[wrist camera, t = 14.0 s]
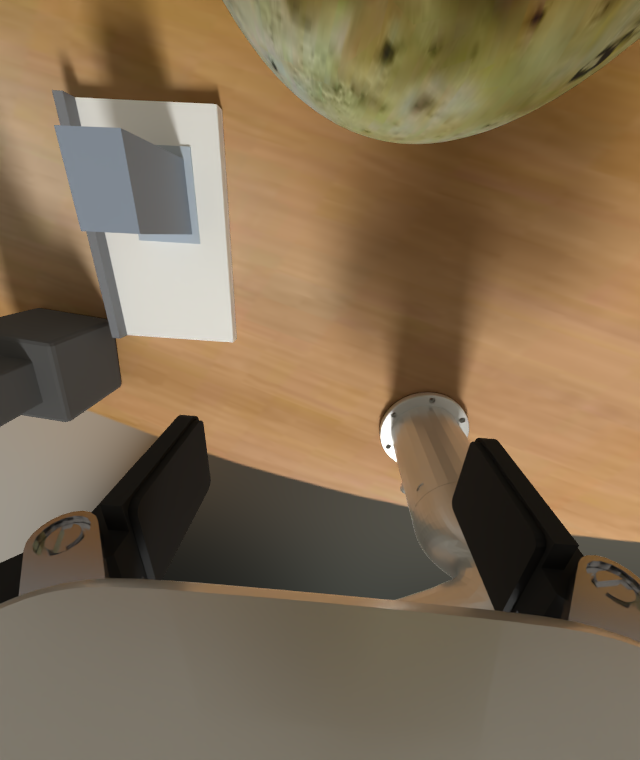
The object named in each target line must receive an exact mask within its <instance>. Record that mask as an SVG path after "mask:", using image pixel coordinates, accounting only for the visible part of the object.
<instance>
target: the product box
mask: <svg viewBox="0 0 640 760" xmlns="http://www.w3.org/2000/svg"><path fill="white" fill-rule="evenodd" d="M54 127H55V131H56V135H57V138H58V142H59V146H60V150H61V154H62V158H63V162H64V166H65V170H66V174H67V177H68V181H69V185H70V189H71V193H72V197H73V201H74V205H75V209H76V213H77V217H78V220H79V224H80V228H81V231H91V232H110V233H129V234H187V235H192V228H191V219H190V211H189V202H188V194H187V185H186V177H185V168H184V160H183V158H180V157H178V156H176V155H174V154H172V153H170V152H168V151H166V150H164V149H162V148H160V147H158V146H156V145H154V144H152V143H150V142H148V141H146V140H144V139H142V138H140V137H138V136H136V135H134V134H132V133H130V132H128V131H126V130H124V129H122V128H110V127H86V126H62V125H54Z"/></svg>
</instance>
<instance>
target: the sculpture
mask: <svg viewBox="0 0 640 760" xmlns="http://www.w3.org/2000/svg"><path fill="white" fill-rule="evenodd" d="M120 386H121V377H120V369H119V362H118V355H117V348H116V340H115V338H112V335H111V330H110V326H109V322H108V319H102V318H96V317H90V316H84V315H78V314H72V313H66V312H60V311H54V310H48V309H42V308H36V309H32V310H28V311H24V312H19V313H15V314H11V315H7V316H3V317H0V426H2V425H4V424H6V423H7V422H9V421H11V420H13V419H15V418H16V417H18V416H20V415H25V416H31V417H38V418H44V419H50V420H57V421H62V422H68V421H71V420H72V419H74V418H75V417H77V416H78V415H80V414H81V413H83V412H84V411H86V410H87V409H89V408H90V407H91V406H93V405H94V404H96V403H97V402H99V401H100V400H102V399H103V398H105V397H106V396H107V395H109V394H110V393H112V392H113V391H115V390H116V389H118V388H119V387H120Z"/></svg>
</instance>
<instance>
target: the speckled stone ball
mask: <svg viewBox="0 0 640 760" xmlns="http://www.w3.org/2000/svg"><path fill="white" fill-rule="evenodd" d="M223 2H224V4H225V5H226V7H227V9H228V10H229V12H230V14H231V15H232V17H233V18H234V20H235V22H236V23H237V25H238V26H239V28H240V30H241V31H242V32H243V34H244V35H245V37H246V38H247V40H248V41H249V43H250V44H251V45H252V47H253V48H254V49H255V51H256V52H257V53H258V55H259V56H260V57H261V59H262V60H263V61H264V62H265V64H266V65H267V66H268V67H269V68H270V69H271V70H272V72H273V73H274V74H275V75H276V76H277V77H278V78H279V79H280V80H281V81H282V82H283V83H284V84H285V85H286V86H287V87H288V88H289V89H290V90H291V91H292V92H293V93H294V94H295V95H296V96H297V97H299V98H300V99H301V100H302V101H304V102H305V103H306V104H307V105H308V106H310V107H311V108H312V109H314V110H315V111H316V112H318V113H319V114H321V115H322V116H324V117H325V118H327V119H329V120H330V121H332V122H334V123H335V124H337V125H339V126H341V127H344V128H346V129H348V130H350V131H352V132H355V133H358V134H360V135H363V136H366V137H370V138H373V139H377V140H381V141H386V142H394V143H401V144H428V143H439V142H446V141H451V140H457V139H461V138H465V137H469V136H472V135H476V134H480V133H483V132H486V131H489V130H492V129H494V128H497V127H499V126H502V125H504V124H507V123H509V122H511V121H513V120H515V119H518V118H520V117H522V116H524V115H526V114H529V113H530V112H532V111H534V110H536V109H538V108H540V107H541V106H543V105H545V104H547V103H549V102H550V101H552V100H554V99H556V98H557V97H559V96H561V95H562V94H564V93H565V92H567V91H568V90H570V89H572V88H573V87H575V86H576V85H578V84H579V83H581V82H582V81H584V80H585V79H587V78H588V77H589V76H591V75H592V74H594V73H595V72H597V71H598V70H599V69H601V68H602V67H604V66H605V65H606V64H607V63H609V62H610V61H611V60H612V59H614V58H615V57H616V56H618V55H619V54H620V53H621V52H623V51H624V50H625V49H626V48H628V47H629V46H630V45H632V44H633V43H634V42H635V41H637V40H638V39H639V38H640V0H223Z"/></svg>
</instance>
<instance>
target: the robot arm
mask: <svg viewBox="0 0 640 760" xmlns="http://www.w3.org/2000/svg"><path fill="white" fill-rule="evenodd" d="M430 398H431V399H430ZM379 434H380V440H381V444H382V447H383V448H384V450H385V452H386V453H387V454H388V455H389V456H390V457H391V458H392V459H393V460H395V461H396V462H397V464H398V467H399V471H400V475H401V479H402V483H401V487H400V489H401V491H402V492H403V493H404V494H405V495H406V499H407V503H408V506H409V510H410V514H411V518H412V522H413V526H414V530H415V534H416V537H417V539H418V542H419V544H420V546H421V548H422V549H423V551H424V552H425V553H426V555H427V556H428V557H429V558H430V560H431V561H433V563H435V564H436V565H437V566H438V567H439V568H440V569H441V570H443V571H444V572H445V573H447V574H448V575H449V576H451V577H452V578H453V579H452V580H450V581H448V582H445V583H443V584H440V585H438V586H436V587H433V588H430V589H427V590H424V591H421V592H418V593H415V594H412V595H409V596H406V597H403V598H400V599H397V600H385V599H374V598H363V597H352V596H342V595H331V594H320V593H308V592H297V591H287V590H276V589H264V588H251V587H241V586H229V585H217V584H205V583H195V582H179V581H165V580H161V579H162V578H163V577H164V575H165V573H166V571H167V569H168V567H169V565H170V563H171V561H172V559H173V557H174V555H175V553H176V551H177V550H178V547H179V546H180V544H181V542H182V540H183V538H184V536H185V534H186V532H187V530H188V528H189V526H190V524H191V522H192V520H193V518H194V517H195V515H196V512H197V511H198V509H199V507H200V505H201V503H202V501H203V499H204V497H205V495H206V493H207V491H208V489H209V486H210V472H209V464H208V456H207V448H206V440H205V432H204V425H203V422H202V421H199V419H198V417H197V416H187V415H179V416H178V417H177V418H176V419H175V420H174V421H173V422H172V424H171V425H170V426H169V427H168V428H167V429H166V430H165V431H164V433H163V434H162V435H161V436H160V437H159V438H158V439H157V440H156V442H155V443H154V444H153V445H152V446H151V447H150V448H149V449H148V450H147V452H146V453H145V454H144V455H143V456H142V457H141V458H140V459H139V460H138V461H137V462H136V463H135V465H134V466H133V467H132V468H131V469H130V470H129V471H128V472H127V473H126V475H125V476H124V477H123V478H122V479H121V480H120V481H119V483H118V484H117V485H116V486H115V487H114V488H113V489H112V490H111V491H110V492H109V494H108V495H107V496H106V497H105V498H104V499H103V500H102V501H101V503H100V504H99V505H98V506H97V507H96V508H95V509H94V510H93V511H92V513H91V512H86V511H77V512H71V513H67V514H64V515H61V516H59V517H56V518H54V519H52V520H50V521H49V522H47V523H46V524H44V525H43V526H41V527H40V528H39V529H38V530H37V531H35V532H34V533H33V534H32V535H31V537H30V538H29V539H28V541H27V543H26V545H25V548H24V552H23V553H22V554H19V555H17V556H15V557H13V558H10V559H8V560H6V561H4V562H1V563H0V760H640V579H639V578H638V577H637V576H636V575H634V574H633V573H632V572H631V571H629V570H628V569H626V568H625V567H623V566H621V565H620V564H618V563H616V562H614V561H612V560H609V559H607V558H604V557H600V556H596V555H586V556H583V555H582V553H581V552H580V551H579V549H578V546H579V545H578V543H577V542H576V541H575V540H574V538H573V537H572V536H571V534H570V533H569V532H568V531H567V529H566V528H565V527H564V525H563V524H562V523H561V522H560V520H559V519H558V518H557V516H556V515H555V514H554V513H553V511H552V510H551V509H550V507H549V506H548V505H547V503H546V502H545V501H544V500H543V498H542V497H541V496H540V494H539V493H538V492H537V491H536V489H535V488H534V487H533V485H532V484H531V483H530V482H529V480H528V479H527V478H526V476H525V475H524V474H523V473H522V471H521V470H520V469H519V467H518V466H517V465H516V463H515V462H514V461H513V460H512V458H511V457H510V456H509V454H508V453H507V452H506V451H505V449H504V448H503V447H502V445H501V444H500V443H499V442H498V441H497V440H496V439H486V438H477V439H476V440H475V442H471V443H470V441H469V440H468V434H469V421H468V418H467V415H466V414H465V412H464V410H463V409H462V408H461V406H460V405H459V404H458V403H457V402H456V401H454V400H453V399H451V398H449V397H447V396H445V395H442V394H439V393H431V392H426V393H417V394H412V395H410V396H407V397H405V398H403V399H401V400H399V401H398V402H396V403H395V404H394V405H392V406H391V407H390V408H389V409H388V411H387V412H386V413H385V415H384V417H383V419H382V421H381V424H380V432H379Z"/></svg>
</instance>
